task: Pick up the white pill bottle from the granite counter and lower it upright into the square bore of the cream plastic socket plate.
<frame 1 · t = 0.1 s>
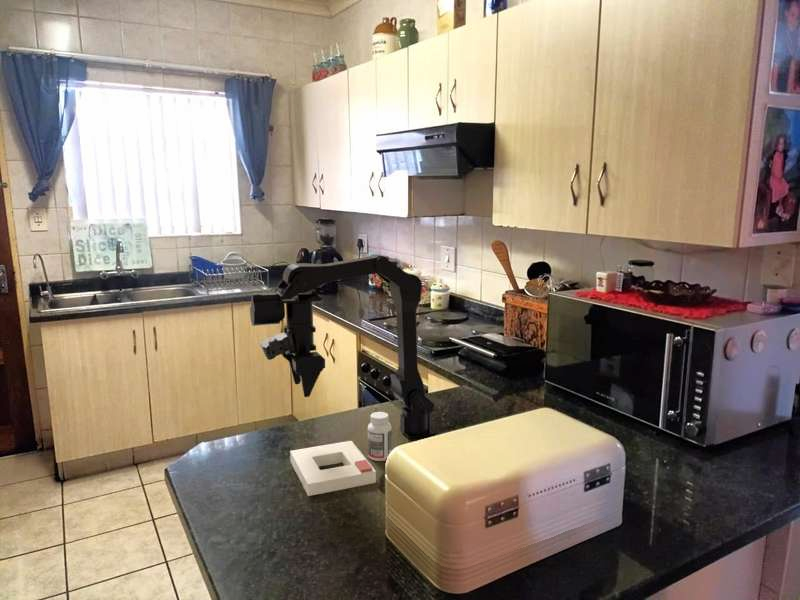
hand: (301, 390, 130), 15 cm above the countertop, fingers open, 9 cm apart
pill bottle: (379, 457, 130), on the countertop
socket plate: (331, 471, 123), on the countertop
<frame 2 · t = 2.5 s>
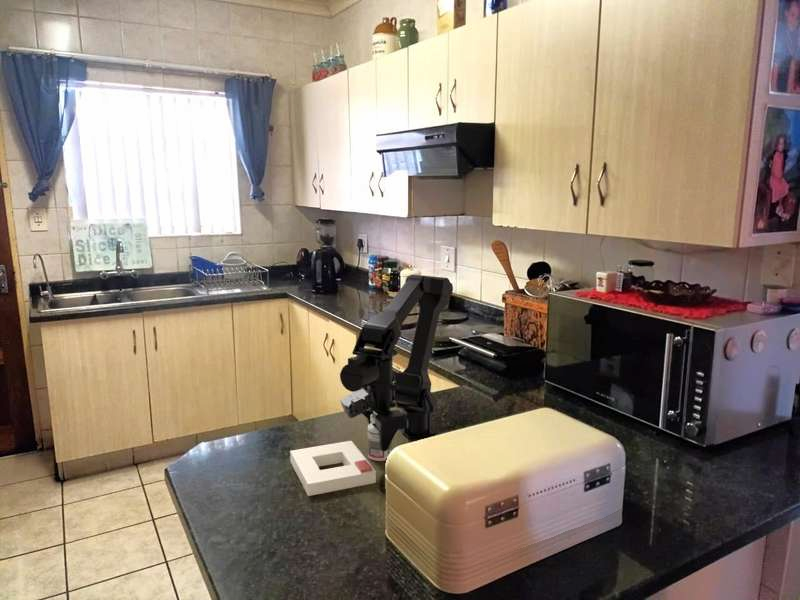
hand: (379, 445, 130), 3 cm above the countertop, fingers closed on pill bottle, 5 cm apart
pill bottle: (379, 457, 130), on the countertop, touching gripper
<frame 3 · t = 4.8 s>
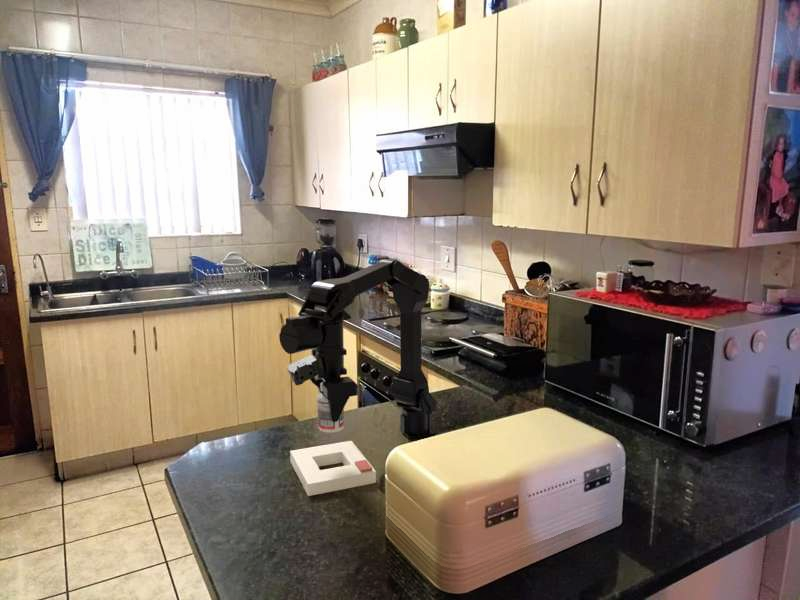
hand: (330, 416, 121), 12 cm above the countertop, fingers closed on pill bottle, 5 cm apart
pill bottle: (331, 428, 121), point 10 cm above the countertop, touching gripper
when the fingers open (3 cm above the countertop, at t = 7.6 s): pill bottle stays where it is, resting in socket plate.
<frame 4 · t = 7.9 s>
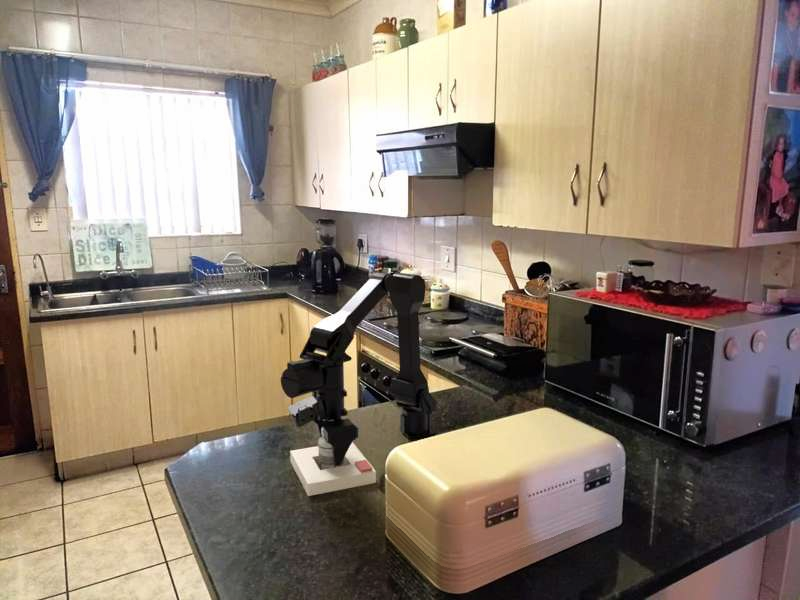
hand: (331, 456, 122), 3 cm above the countertop, fingers open, 9 cm apart
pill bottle: (331, 472, 123), resting in socket plate
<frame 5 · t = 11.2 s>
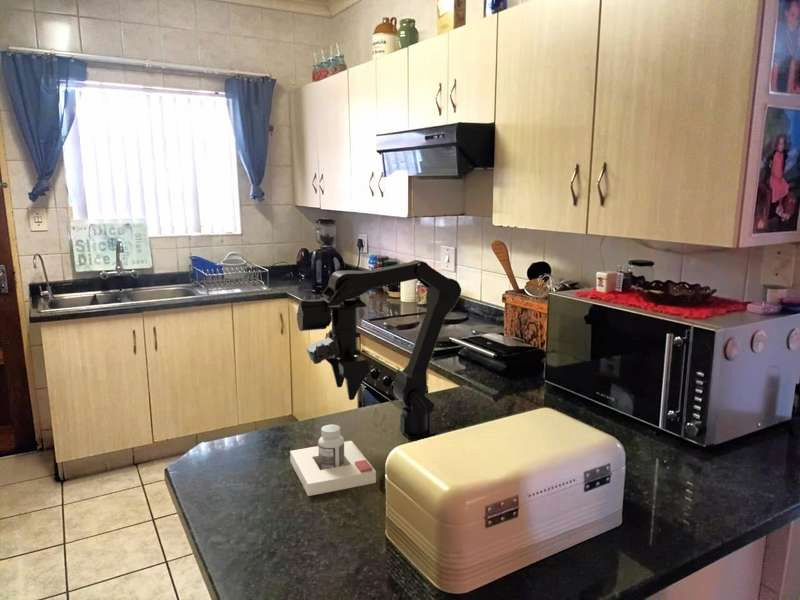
hand: (345, 393, 134), 13 cm above the countertop, fingers open, 9 cm apart
nothing on the countertop moved.
at the end: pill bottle 0.1 cm off-centre on the socket plate, point 0.0 cm above the socket plate's base; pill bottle tilted 0°; the gripper is holding nothing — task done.
